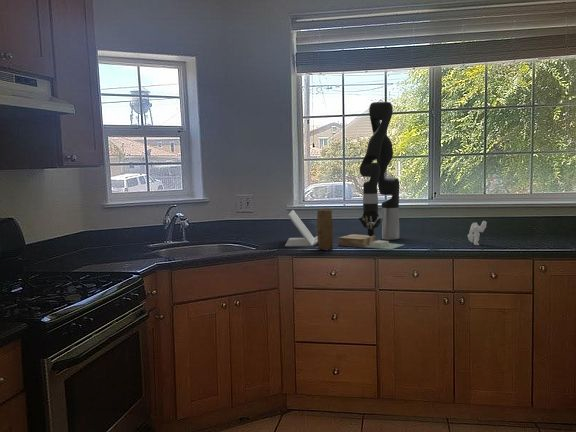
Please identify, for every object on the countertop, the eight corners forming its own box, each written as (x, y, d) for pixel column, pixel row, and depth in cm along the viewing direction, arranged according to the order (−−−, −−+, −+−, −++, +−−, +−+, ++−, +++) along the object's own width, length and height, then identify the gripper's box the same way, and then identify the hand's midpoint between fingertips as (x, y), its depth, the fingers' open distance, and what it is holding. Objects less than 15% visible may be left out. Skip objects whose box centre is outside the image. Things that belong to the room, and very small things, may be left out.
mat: (377, 242, 274) (377, 242, 274) (404, 245, 264) (404, 244, 264) (362, 247, 262) (362, 246, 262) (390, 249, 252) (390, 249, 252)
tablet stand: (284, 246, 272) (283, 214, 270) (289, 239, 297) (288, 209, 295) (319, 246, 270) (318, 213, 268) (321, 239, 295) (320, 209, 293)
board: (352, 241, 281) (352, 234, 281) (375, 243, 272) (375, 235, 272) (338, 245, 270) (338, 237, 270) (361, 247, 261) (361, 239, 261)
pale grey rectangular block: (388, 241, 264) (388, 244, 264) (378, 240, 268) (378, 244, 268) (379, 243, 257) (379, 247, 258) (369, 242, 261) (369, 246, 261)
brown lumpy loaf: (333, 250, 256) (332, 209, 253) (318, 250, 256) (317, 210, 254) (332, 246, 266) (331, 207, 264) (317, 247, 266) (316, 208, 264)
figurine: (488, 244, 258) (488, 220, 256) (481, 246, 255) (481, 221, 253) (470, 242, 266) (471, 219, 265) (464, 243, 263) (464, 220, 262)
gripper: (385, 202, 262) (386, 236, 264) (363, 201, 271) (363, 234, 273) (378, 203, 257) (378, 238, 258) (355, 202, 265) (355, 236, 267)
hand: (370, 236), depth 266 cm, fingers closed
